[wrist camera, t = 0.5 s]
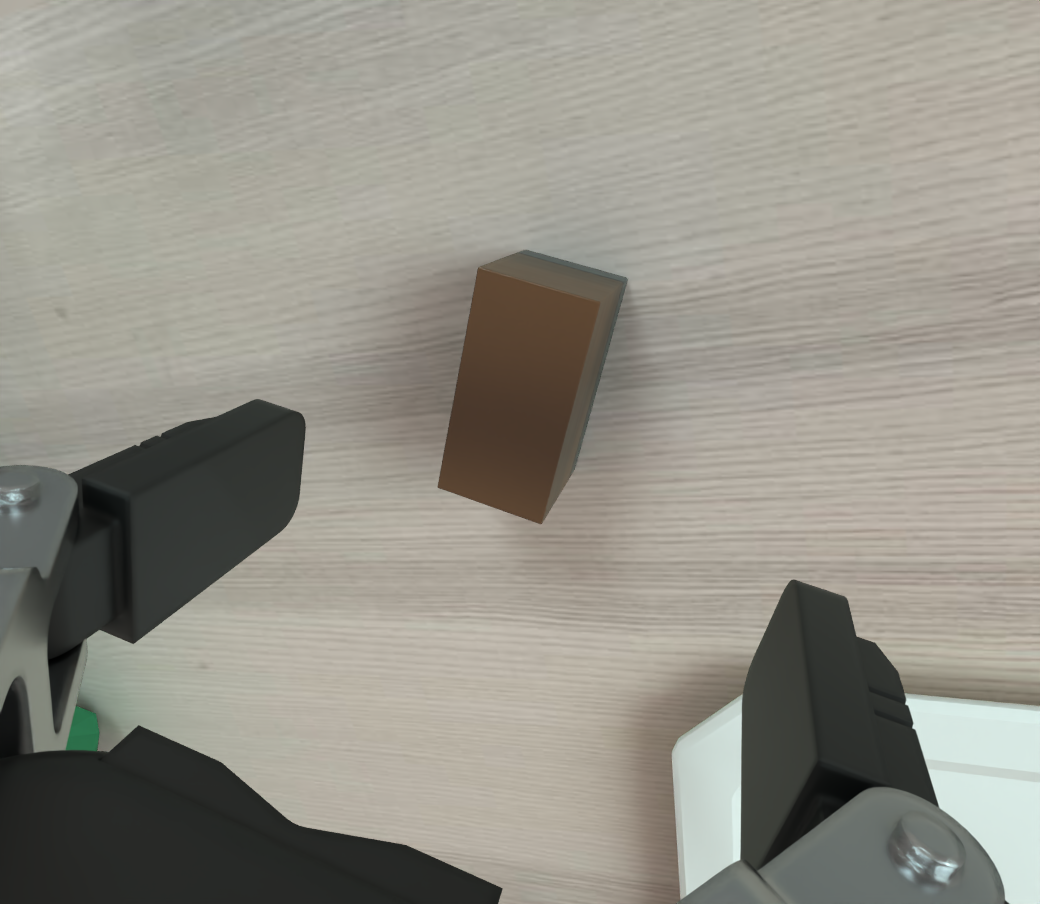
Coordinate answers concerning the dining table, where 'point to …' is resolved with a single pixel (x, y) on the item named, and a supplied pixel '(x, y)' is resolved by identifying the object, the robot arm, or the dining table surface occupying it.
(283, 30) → the dining table surface
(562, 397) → the eraser
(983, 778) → the plate
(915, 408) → the dining table surface
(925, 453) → the dining table surface
